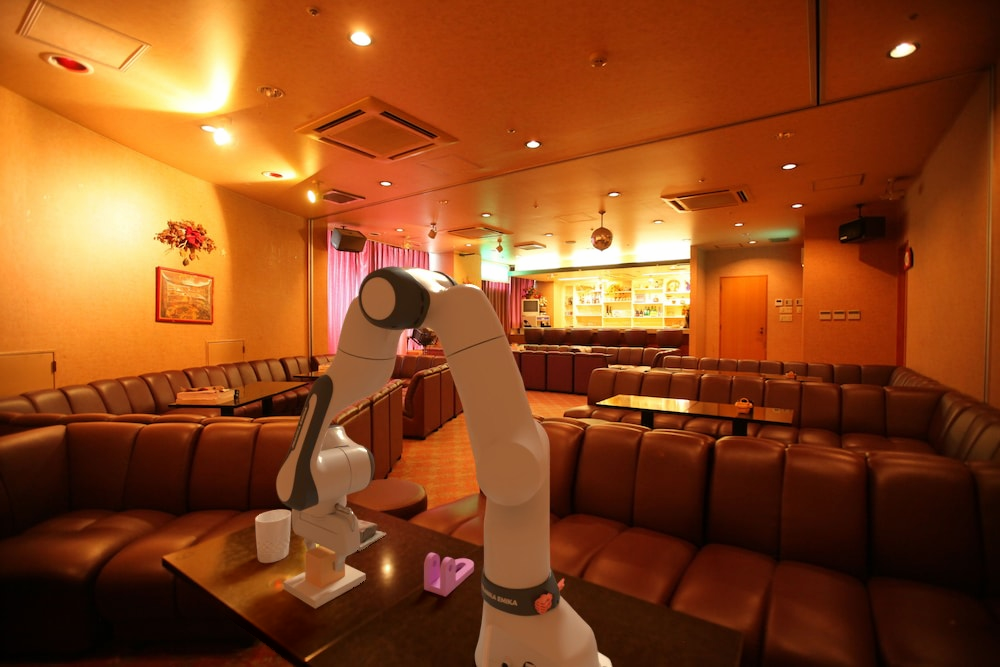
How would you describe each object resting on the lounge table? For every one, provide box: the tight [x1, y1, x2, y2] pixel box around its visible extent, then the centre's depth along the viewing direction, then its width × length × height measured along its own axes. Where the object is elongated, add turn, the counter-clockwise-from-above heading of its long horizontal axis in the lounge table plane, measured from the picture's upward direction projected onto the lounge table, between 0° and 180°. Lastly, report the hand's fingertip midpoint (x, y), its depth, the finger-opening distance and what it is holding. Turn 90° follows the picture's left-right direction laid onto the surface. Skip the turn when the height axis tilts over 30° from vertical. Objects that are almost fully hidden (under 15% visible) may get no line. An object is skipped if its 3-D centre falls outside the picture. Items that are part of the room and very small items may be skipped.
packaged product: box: [357, 518, 387, 552], centre depth 117 cm, size 18×5×10 cm
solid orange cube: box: [304, 545, 346, 588], centre depth 94 cm, size 6×6×6 cm
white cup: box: [254, 509, 292, 564], centre depth 106 cm, size 8×8×10 cm
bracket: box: [423, 552, 475, 597], centre depth 96 cm, size 13×6×7 cm, turn 152°
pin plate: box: [282, 563, 367, 610], centre depth 94 cm, size 12×12×6 cm
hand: (325, 563), depth 94 cm, fingers open, 8 cm apart
